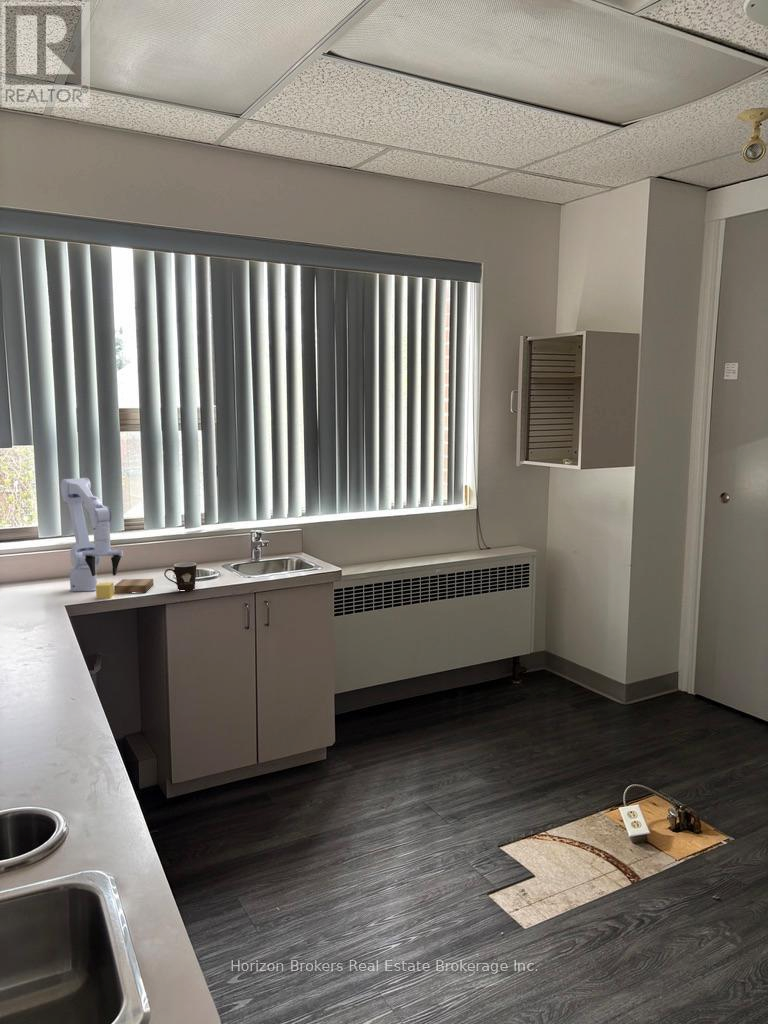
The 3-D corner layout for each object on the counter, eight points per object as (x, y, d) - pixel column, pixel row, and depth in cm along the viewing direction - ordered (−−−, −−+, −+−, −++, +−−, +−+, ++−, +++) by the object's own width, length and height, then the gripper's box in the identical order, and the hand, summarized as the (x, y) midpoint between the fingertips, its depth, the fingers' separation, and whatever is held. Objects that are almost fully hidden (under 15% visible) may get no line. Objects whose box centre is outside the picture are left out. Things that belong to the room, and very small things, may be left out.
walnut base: (114, 593, 296) (114, 586, 296) (123, 586, 308) (122, 579, 308) (146, 592, 297) (145, 585, 297) (153, 586, 309) (153, 578, 309)
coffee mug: (200, 587, 305) (199, 562, 304) (193, 592, 297) (192, 566, 296) (172, 587, 307) (171, 562, 305) (164, 592, 298) (162, 566, 297)
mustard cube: (96, 598, 289) (95, 585, 288) (100, 595, 294) (99, 582, 293) (110, 598, 289) (109, 585, 288) (114, 595, 294) (113, 582, 293)
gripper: (78, 541, 284) (81, 577, 286) (118, 540, 285) (120, 576, 287) (84, 538, 291) (87, 574, 293) (124, 537, 292) (126, 573, 294)
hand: (104, 575), depth 290 cm, fingers open, 7 cm apart
